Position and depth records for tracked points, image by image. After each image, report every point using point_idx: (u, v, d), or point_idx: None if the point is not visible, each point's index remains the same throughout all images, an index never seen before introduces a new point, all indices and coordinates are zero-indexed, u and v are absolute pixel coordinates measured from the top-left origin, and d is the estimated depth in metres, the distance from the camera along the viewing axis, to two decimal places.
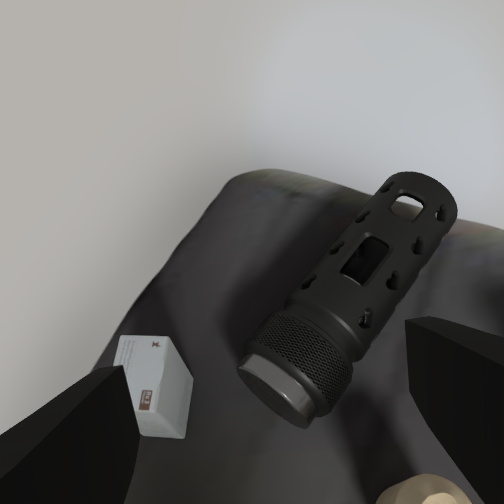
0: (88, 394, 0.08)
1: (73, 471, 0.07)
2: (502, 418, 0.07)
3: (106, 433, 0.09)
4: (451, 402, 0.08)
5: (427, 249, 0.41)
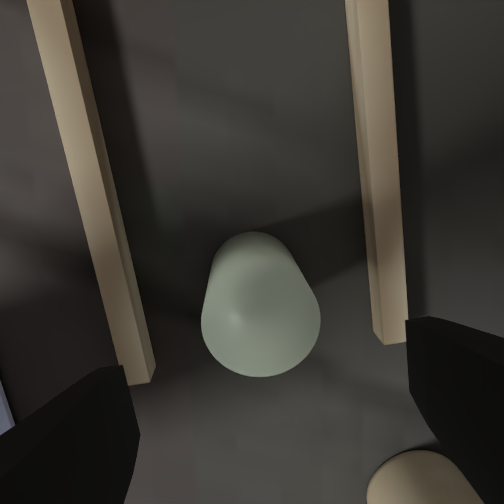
0: (88, 394, 0.08)
1: (73, 471, 0.07)
2: (502, 418, 0.07)
3: (106, 433, 0.09)
4: (452, 401, 0.08)
5: None
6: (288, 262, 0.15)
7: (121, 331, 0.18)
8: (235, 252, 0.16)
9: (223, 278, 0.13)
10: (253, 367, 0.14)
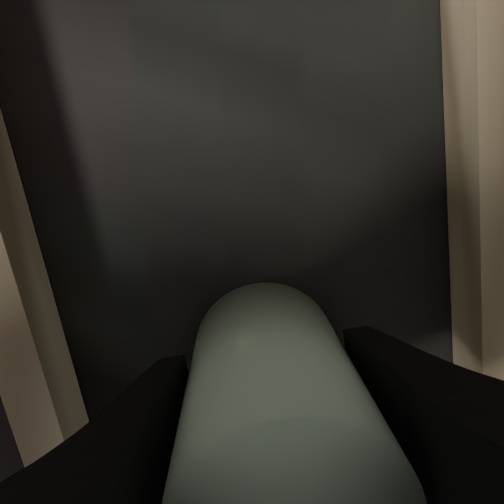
0: (164, 382, 0.08)
1: (158, 457, 0.07)
2: (410, 433, 0.07)
3: (178, 421, 0.09)
4: None
5: None
6: (345, 376, 0.07)
7: (40, 457, 0.11)
8: (235, 344, 0.08)
9: (207, 445, 0.06)
10: None
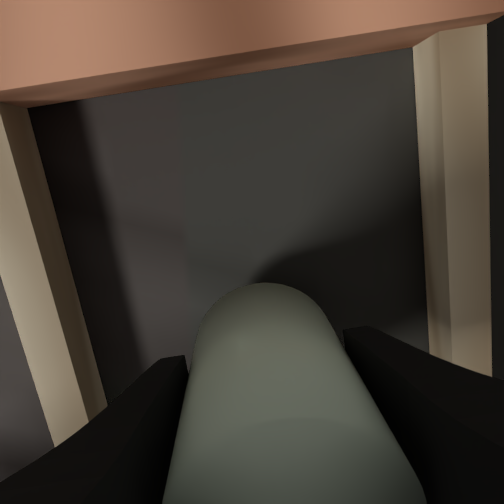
0: (164, 382, 0.08)
1: (159, 457, 0.07)
2: (411, 433, 0.07)
3: (178, 422, 0.09)
4: None
5: None
6: (345, 377, 0.07)
7: None
8: (236, 344, 0.08)
9: (207, 446, 0.06)
10: None
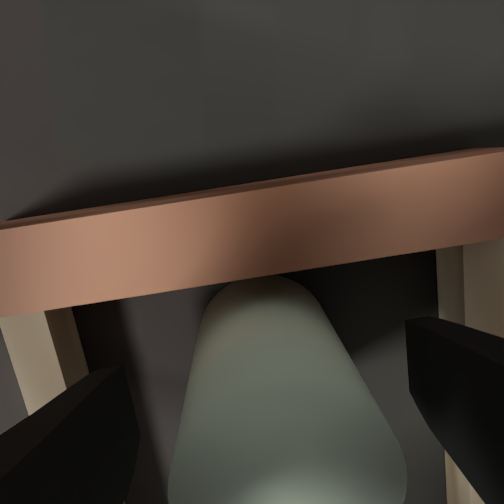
0: (88, 394, 0.08)
1: (73, 471, 0.07)
2: (502, 418, 0.07)
3: (106, 433, 0.09)
4: (451, 402, 0.08)
5: None
6: (335, 355, 0.08)
7: None
8: (236, 327, 0.09)
9: (212, 410, 0.06)
10: None
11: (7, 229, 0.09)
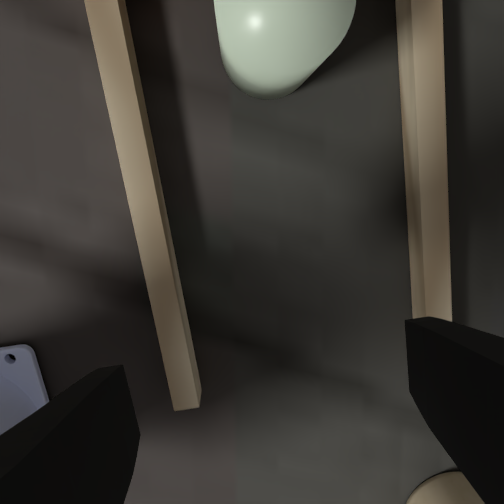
0: (88, 394, 0.08)
1: (73, 471, 0.07)
2: (502, 418, 0.07)
3: (106, 433, 0.09)
4: (451, 402, 0.08)
5: None
6: None
7: (173, 358, 0.19)
8: None
9: None
10: (275, 58, 0.12)
11: None
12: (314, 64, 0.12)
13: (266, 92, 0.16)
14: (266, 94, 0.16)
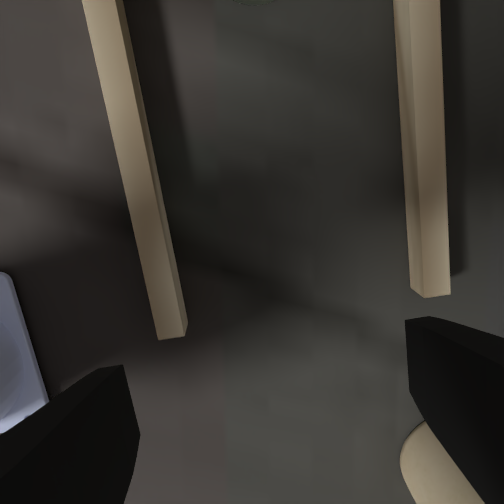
0: (88, 394, 0.08)
1: (73, 471, 0.07)
2: (502, 418, 0.07)
3: (106, 433, 0.09)
4: (451, 401, 0.08)
5: None
6: None
7: (156, 282, 0.18)
8: None
9: None
10: None
11: None
12: None
13: None
14: None
